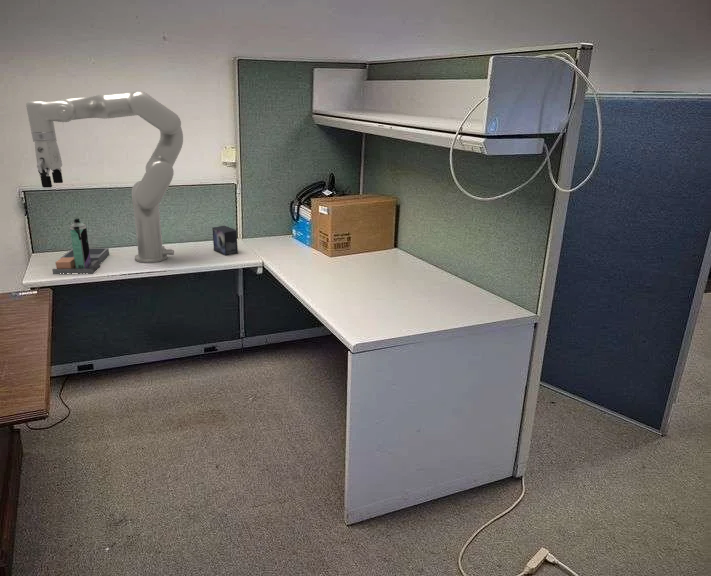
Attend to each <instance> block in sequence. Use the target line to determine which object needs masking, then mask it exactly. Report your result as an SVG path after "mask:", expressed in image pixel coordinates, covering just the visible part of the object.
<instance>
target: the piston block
mask: <svg viewBox="0 0 711 576" xmlns="http://www.w3.org/2000/svg"><path fill="white" fill-rule="evenodd" d="M55 267H56V268H55V269H61V268H76V267H75V260H74V257H67V258H61V257H60V258H59V259H58V260H56V261H55Z"/></svg>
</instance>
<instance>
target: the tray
mask: <svg viewBox="0 0 711 576" xmlns="http://www.w3.org/2000/svg"><path fill="white" fill-rule="evenodd" d="M109 250H110V249H109V247H89V251H90V258H91V262H93V261H94V260H98V261H99V262H100V265H101V264H102V263H103V262H105V260H106V259H107V258H109V256H110V251H109ZM67 257H74V253H73V247H72V248H71V249H70V250H69V251H67V252H66V253H64V254H63V255H62V256H60V258H67ZM101 262H102V263H101Z"/></svg>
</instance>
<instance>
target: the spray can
mask: <svg viewBox="0 0 711 576" xmlns="http://www.w3.org/2000/svg"><path fill="white" fill-rule="evenodd" d="M87 230H88V229H87V224H85V223H83V222H82V221H81V220H80V218H78V217H77V218H76V217H75V218H74V220H73V223H72V224H70V225H69V232H70V238H71V244H72V245H71V247H72V248H73V253H74V260H75V267H76V268H89V265H90V264H91V258H90V251H89V248H90V245H89V238H88V237H89V236H88V231H87Z"/></svg>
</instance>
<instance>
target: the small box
mask: <svg viewBox="0 0 711 576" xmlns="http://www.w3.org/2000/svg"><path fill="white" fill-rule="evenodd" d="M211 228H212V242H213V251H214V252H217V253H219V254H221V255H223V256H232V255H236V254H237V255H238V254H239V252H238V250H239V249H238V236H237V235H238V233H237V232H238V231H237V229H235V228H232V227H229V226H227V225H220V226H214V227H211Z"/></svg>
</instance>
